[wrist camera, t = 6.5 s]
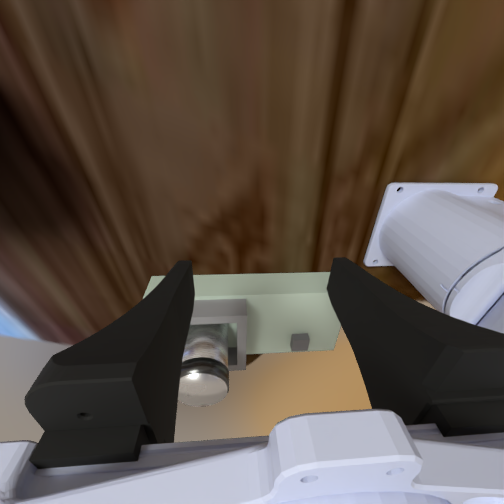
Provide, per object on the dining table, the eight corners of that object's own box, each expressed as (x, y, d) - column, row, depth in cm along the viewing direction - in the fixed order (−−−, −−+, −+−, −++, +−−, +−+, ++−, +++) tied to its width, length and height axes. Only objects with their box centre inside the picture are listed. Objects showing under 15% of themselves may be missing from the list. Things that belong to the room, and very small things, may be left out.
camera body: (339, 271, 26) (361, 308, 21) (324, 327, 30) (340, 367, 26) (151, 276, 24) (135, 315, 20) (164, 334, 28) (153, 377, 24)
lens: (229, 311, 23) (228, 373, 18) (229, 342, 25) (229, 405, 20) (181, 312, 23) (166, 376, 18) (186, 343, 25) (174, 408, 20)
